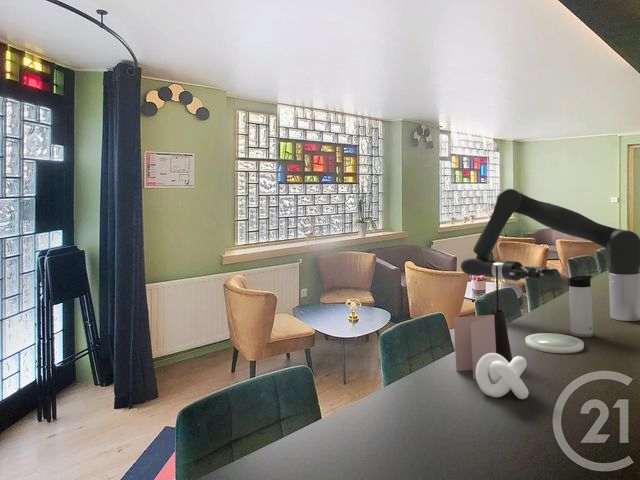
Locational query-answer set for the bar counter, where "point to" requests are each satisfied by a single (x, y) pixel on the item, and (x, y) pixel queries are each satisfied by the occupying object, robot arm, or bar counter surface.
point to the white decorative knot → (501, 375)
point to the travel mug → (580, 306)
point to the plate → (554, 343)
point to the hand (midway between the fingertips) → (547, 274)
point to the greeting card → (473, 340)
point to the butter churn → (501, 329)
